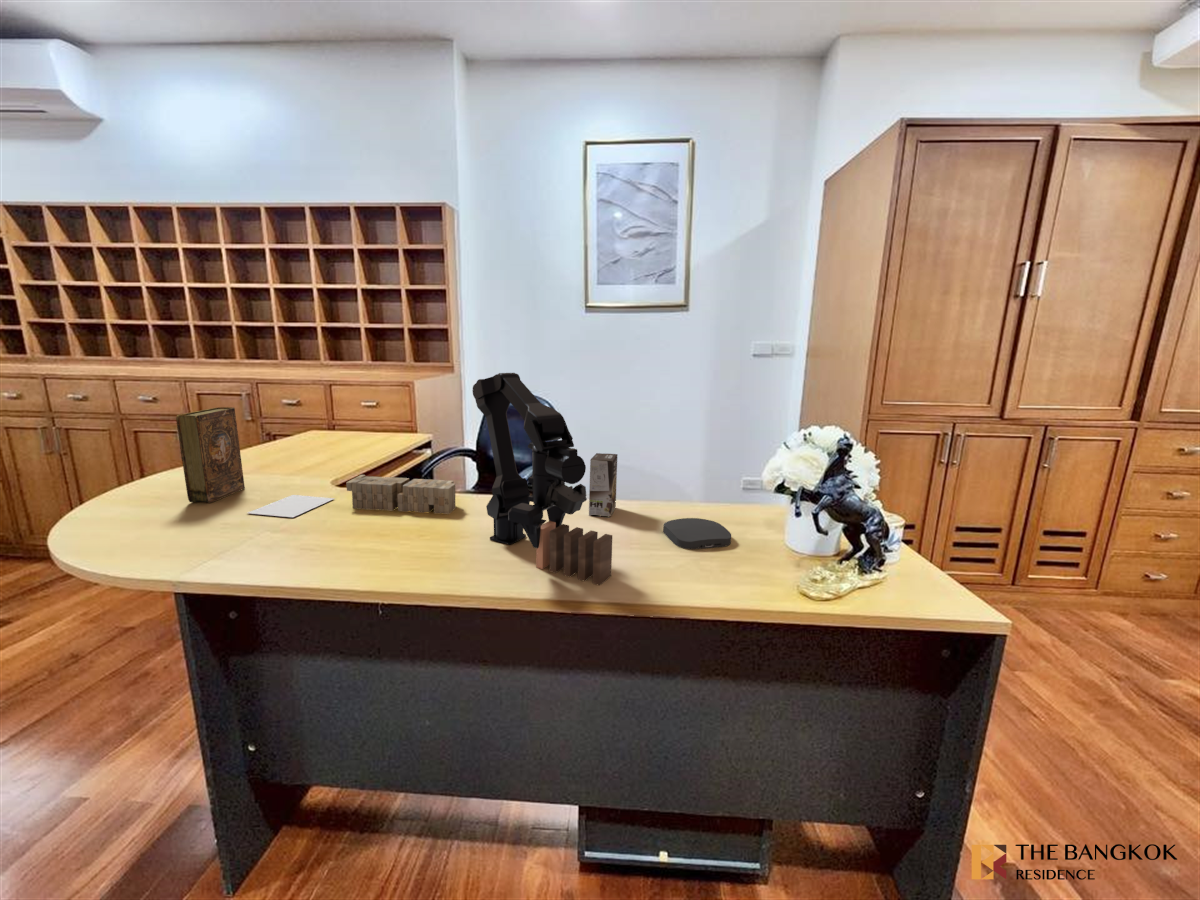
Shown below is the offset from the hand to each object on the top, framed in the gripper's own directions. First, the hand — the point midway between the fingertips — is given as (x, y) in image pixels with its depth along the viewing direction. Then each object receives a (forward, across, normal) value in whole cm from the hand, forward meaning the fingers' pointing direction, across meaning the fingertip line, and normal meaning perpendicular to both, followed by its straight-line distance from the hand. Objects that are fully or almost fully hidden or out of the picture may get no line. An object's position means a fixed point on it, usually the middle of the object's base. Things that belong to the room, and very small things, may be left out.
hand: (545, 542), depth 113 cm
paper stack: (+6, -9, +75) cm, 76 cm away
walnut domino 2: (+5, 0, -7) cm, 9 cm away
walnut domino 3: (+5, 0, -10) cm, 12 cm away
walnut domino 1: (+5, 0, -4) cm, 6 cm away
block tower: (+6, +10, +55) cm, 56 cm away
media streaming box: (+6, +33, -23) cm, 41 cm away
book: (+5, -12, +108) cm, 109 cm away
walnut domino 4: (+5, 0, -14) cm, 15 cm away
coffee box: (+5, +37, +6) cm, 38 cm away
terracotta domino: (+5, 0, 0) cm, 5 cm away
